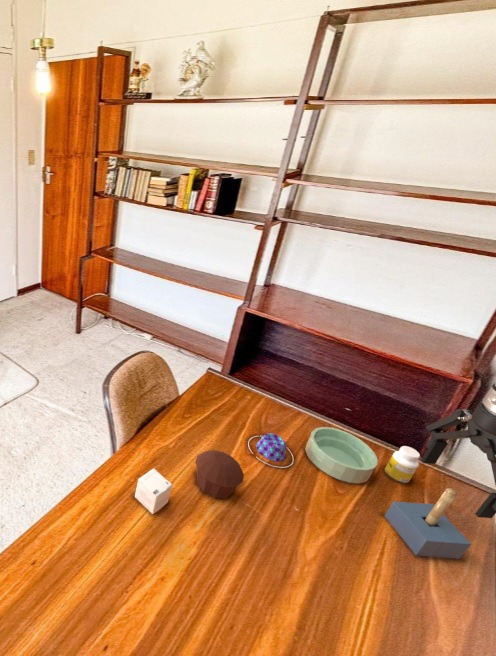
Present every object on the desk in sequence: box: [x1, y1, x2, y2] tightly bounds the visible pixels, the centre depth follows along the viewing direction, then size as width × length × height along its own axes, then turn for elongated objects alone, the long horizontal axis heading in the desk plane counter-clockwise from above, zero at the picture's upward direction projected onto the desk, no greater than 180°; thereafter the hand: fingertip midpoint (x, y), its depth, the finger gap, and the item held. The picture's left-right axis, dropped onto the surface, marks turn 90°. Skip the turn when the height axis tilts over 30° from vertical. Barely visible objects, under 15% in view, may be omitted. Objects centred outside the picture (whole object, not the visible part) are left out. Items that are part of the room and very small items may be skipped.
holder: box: [384, 501, 472, 560], centre depth 93 cm, size 10×10×6 cm
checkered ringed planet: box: [247, 432, 295, 469], centre depth 116 cm, size 12×12×5 cm
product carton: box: [134, 468, 173, 515], centre depth 99 cm, size 6×6×7 cm
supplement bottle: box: [384, 445, 421, 484], centre depth 108 cm, size 5×5×10 cm
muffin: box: [195, 449, 245, 500], centre depth 103 cm, size 12×11×10 cm
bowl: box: [304, 426, 379, 484], centre depth 113 cm, size 16×16×6 cm
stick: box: [424, 487, 458, 527], centre depth 91 cm, size 2×2×17 cm
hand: (453, 487), depth 87 cm, fingers open, 13 cm apart
